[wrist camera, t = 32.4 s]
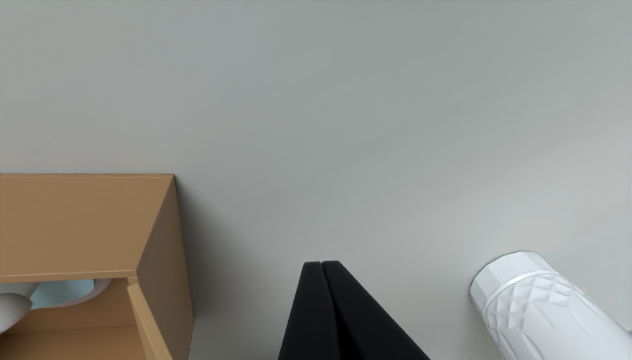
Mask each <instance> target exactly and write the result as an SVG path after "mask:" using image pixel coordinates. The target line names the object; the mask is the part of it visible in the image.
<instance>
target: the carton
mask: <svg viewBox="0 0 632 360" xmlns="http://www.w3.org/2000/svg"><path fill="white" fill-rule="evenodd" d="M105 278H111V282H110V283H109V285H108V287H107V288H106V289H105V290H103V291H102V292H101V293H100V294H99V295H97V296H95V297H93V298H91V299H90V300H87V301H84V302H81V303H79V304H75V305H70V306H65V307H55V308H37V309H32V310H29V312H28V313H27V314H26V315H25V316H24V317H23V318H22V319H20V320H19V321H18V322H17V323H16V324H14V325H13V326H11V327H10V328H9V329H7V330H6V331H4V332H2V333H1V334H0V360H147V359H146V355H145V352H144V348H143V344H142V341H141V337H140V333H139V330H138V326H137V323H136V319H135V315H134V312H133V308H132V304H131V301H130V297H129V294H128V290H127V287H128V286H131V285H133V284H136V283H138V284H139V285H140V288H141V290H142V292H143V294H144V296H145V299H146V301H147V303H148V305H149V307H150V310H151V312H152V314H153V316H154V318H155V321H156V323H157V325H158V327H159V329H160V332H161V334H162V336H163V338H164V340H165V343H166V345H167V347H168V349H169V351H170V354H171V356H172V358H173V360H188V355H189V349H190V344H191V338H192V332H193V326H194V313H193V306H192V299H191V292H190V284H189V277H188V270H187V263H186V256H185V249H184V242H183V235H182V228H181V221H180V214H179V207H178V200H177V192H176V185H175V178H174V174H0V283H21V282H42V281H63V280H84V279H105Z"/></svg>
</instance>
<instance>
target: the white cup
mask: <svg viewBox="0 0 632 360" xmlns="http://www.w3.org/2000/svg"><path fill="white" fill-rule="evenodd" d="M470 295H471V299H472V302H473V304H474V305H475V307H476V309H477V310H478V312H479V314H480V315H481V317H482V319H483V320H484V322H485V325H486V327H487V329H488V331H489V333H490V335H491V336H492V338H493V340H494V341H495V343H496V345H497V347H498V349H499V351H500V352H501V354H502V356H503V358H504V360H632V336H631V335H630V334H629V333H628V332H627V331H626V330H625V329H624V328H623V327H622V326H620V325H619V324H618V323H617V322H616V321H615V320H614V319H613V318H612V317H611V316H610V315H609V314H608V313H607V312H606V311H604V310H603V309H602V308H601V307H599V306H598V305H597V304H595V303H594V302H593V301H592V300H591V299H590V298H589V297H588V296H587V295H586V294H585V293H584V292H582V291H581V290H580V289H579V288H577V287H576V286H575V285H574V284H573V283H572V282H571V281H570V280H568V279H566V278H564V277H563V276H562V275H561V274H560V273H558V272H557V271H556V270H555V269H554V268H553V267H552V266H550V265H549V264H548V263H547V262H546V261H545V260H544V259H543V258H542V257H540V256H539V255H538V254H537V253H531V252H523V251H520V252H516V253H512V254H508V255H504V256H502V257H500V258H498V259H497V260H495V261H493V262H491V263H490V264H488V265H486V266H485V267H484V268H483V269H482V270H481V271H480V273H479V274H478V275H477V276H476V277H475V278H474V280H473V283H472V285H471V288H470Z"/></svg>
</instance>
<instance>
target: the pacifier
mask: <svg viewBox="0 0 632 360" xmlns="http://www.w3.org/2000/svg"><path fill="white" fill-rule="evenodd" d="M110 282H111V278H105V279H84V280H63V281H42V282H21V283H0V334H1V333H2V332H4V331H6V330H7V329H9V328H10V327H11V326H13V325H14V324H16V323H17V322H18V321H19V320H20V319H22V318H23V317H24V316H25V315H26V314H27V313H28V312H29V310H32V309H37V308H55V307H65V306H70V305H75V304H79V303H81V302H84V301H87V300H90V299H91V298H93V297H95V296H97V295H99V294H100V293H101V292H102V291H103V290H105V289H106V288H107V287H108V285H109V283H110Z"/></svg>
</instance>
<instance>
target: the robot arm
mask: <svg viewBox="0 0 632 360" xmlns="http://www.w3.org/2000/svg"><path fill="white" fill-rule="evenodd" d="M278 360H431V359H430V358H429V357H428V356H427V355H426V354H425V353H424V352H423V351H422V350H421V349H420V348H419V347H418V345H417V344H416V343H415V342H414V341H413V340H412V339H411V338H410V337H409V336H408V335H407V334H406V333H405V331H404V330H403V329H402V328H401V327H400V326H399V325H398V324H397V323H396V322H395V321H394V320H393V319H392V318H391V316H390V315H389V314H388V313H387V312H386V311H385V310H384V309H383V308H382V307H381V306H380V305H379V304H378V303H377V301H376V300H375V299H374V298H373V297H372V296H371V295H370V294H369V293H368V292H367V291H366V290H365V289H364V287H363V286H362V285H361V284H360V283H359V282H358V281H357V280H356V279H355V278H354V277H353V276H352V275H351V274H350V272H349V271H348V270H347V269H346V268H345V267H344V266H343V265H342V264H341V263H340V262H339V261H323V262H322V263H321V262H319V261H316V262H305V263H304V265H303V268H302V272H301V276H300V279H299V283H298V287H297V290H296V294H295V298H294V301H293V305H292V309H291V313H290V316H289V320H288V324H287V327H286V331H285V335H284V338H283V342H282V346H281V350H280V353H279V357H278Z"/></svg>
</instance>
